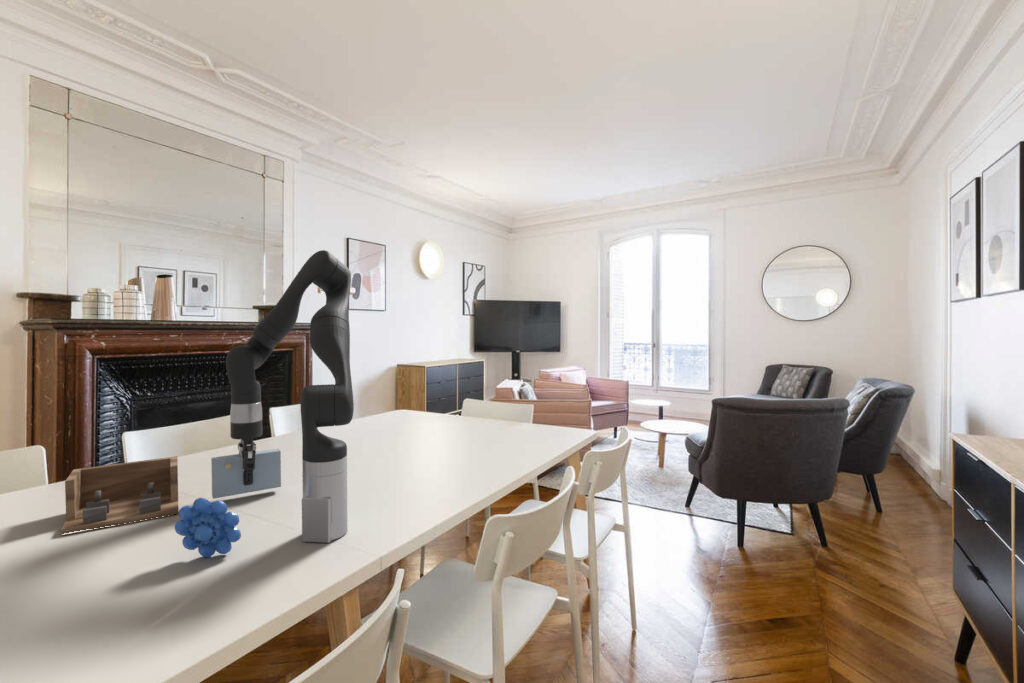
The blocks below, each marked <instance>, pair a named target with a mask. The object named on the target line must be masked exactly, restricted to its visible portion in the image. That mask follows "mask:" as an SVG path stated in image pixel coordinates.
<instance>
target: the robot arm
mask: <svg viewBox="0 0 1024 683" xmlns="http://www.w3.org/2000/svg"><path fill="white" fill-rule="evenodd" d="M312 284H313V285H315V286H316V287H318V288H319V289H321V290H322V291H323V292H324V295H325V298H326V299H325V300H326V301H325V305H323V306H322V307H321V308H319V309H317V311H316V312H315V313H314V314H313V316H312V318H311V320H310V323H309V324H310V325H309V344H310V347H311V350H312V351H313V353H314V354H315V355H316V356H317V357H318V359H319V360H320V361H321V362H322V363H323V364H324V366H326V367H327V369H328V370H329V371H330V373H331V374H332V376H333V378H334V380H335V383H334V384H313V385H312V384H311V385H310V384H309V385H305V386H304V387H303V388H302V390H301V394H300V400H299V403H300V404H299V405H300V417H301V418H300V420H301V431H302V432H301V433H302V437H301V438H302V440H301V441H302V442H301V443H302V445H301V446H302V450H301V452H302V453H301V454H302V456H301V457H302V461H301V462H302V463H301V464H302V498H301V541H302V542H303V543H305V542H306V543H325V544H326V543H327V544H328V543H329V544H330V543H331V542H332V541H334V540H337V539H339V538H341V537H343V536H345V535H346V534H347V533H348V446H347V443H346V442H344V441H343V440H341V439H338V438H334V437H330V436H328V435H325V434H323V433H322V432H320V430H319V429H318V428H324V427H327V428H328V427H334V426H335V427H339V426H346V425H349V424H350V423H351V421H352V420H353V417H354V404H355V402H354V394H353V393H354V392H353V391H354V390H353V384H352V374H351V364H350V363H351V362H350V361H351V360H350V359H351V357H350V356H351V352H350V350H351V349H350V348H351V341H350V340H351V335H350V334H351V330H350V316H349V314H350V312H349V311H350V309H349V308H350V307H349V306H350V305H349V304H350V294H351V293H350V292H351V286H352V285H351V284H352V275H351V270H350V269H349V267H348V266H347V265H345V264H344V263H343V262H342V261H341V260H340V259H338V258H337V257H336V256H335V255H334V254H332V253H331V252H329V251H328V250H325V249H322V250H319V251H316V252H315V253H313V254H311V256H310V257H309V258H308V259H307V260H306V262H305V263H304V264H303V265H302V267H301V268H300V269H299V271H298V272H297V273H296V275H295V277H294V278H293V279H292V281H291V282H290V284H289V285H288V287H287V288H286V290H285V292H284V293H283V294H282V296H281V297H280V299H279V300H278V302H277V303H276V305H274V307H273V308H272V309H271V310H270V311H269V312H268V313H267V314H266V316H265V317H264V318H263V319H262V320H260V322H259V323H258V324H257V325H256V326H255V327H254V329H253V331H252V336H251V337H250V339H249V340H248V341H247V342H246V343H245V344H243V345H235V346H234V347H232V348H231V349H229V350H228V352H227V355H226V358H225V366H226V367H225V368H226V373H227V377H228V380H229V385H230V387H231V389H230V401H231V402H230V403H231V404H230V416H229V418H230V419H229V420H230V422H229V423H230V427H229V428H230V435H229V436H230V438H231V439H233V440H240V442H238V443H237V450H238V454H240V461H241V463H243V469H242V471H243V484H244V485H245V486H246V485H252V484H253V470H254V469H255V454H256V452H257V444H256V443H255V441H254V439H255V438H259V437H261V436H262V435H263V407H262V386H261V384H260V381H259V380H257V379H256V371H255V370H257V369H259V368H260V367H261V366H263V364H265V363H266V361H267V359H269V357H270V355H271V354H272V353H273V351H274V350H275V347H276V346H277V345H278V344H279V343H281V342H282V340H283V339H284V338H285V337H286V336H287V335H288V334H289V333H290V332H291V331H292V330H293V328H294V326H295V325H296V323H297V320H298V315H299V311H300V307H301V301H302V298H303V296H304V294H305V292H306V290H307V289H308V288H309V287H310V285H312ZM243 458H244V459H243ZM250 463H251V465H250V466H246V465H247V464H250Z"/></svg>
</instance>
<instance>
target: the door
mask: <svg viewBox="0 0 1024 683" xmlns="http://www.w3.org/2000/svg"><path fill="white" fill-rule="evenodd" d="M281 454H282V452H281V449H280V448H274V449H265V450H260V451H256V454H255V469H254V470H253V484H252V485H246V486H245V485H244V484H243V471H242V469H243V463H241V461H240V454H239V453H237V454H228V455H223V456H214V457H210V458H211V498H212V499H220V498H225V497H230V496H236V495H242V494H243V495H244V494H246V493H253V492H260V491H264V490H270V489H276V488H281V487H282V467H281V466H282V465H281V464H282V460H281V457H282V456H281ZM243 459H244V458H243ZM250 465H251V463H250V464H247V465H246V466H250Z"/></svg>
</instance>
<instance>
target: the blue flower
mask: <svg viewBox="0 0 1024 683" xmlns="http://www.w3.org/2000/svg"><path fill="white" fill-rule="evenodd" d="M178 515H179V518H180V520H179V521H177V522H176V523H175V525H174V531H175V532H176V534H178V535H179V536H182V537H183V536H184V537H183V538H182V546H183V547H184V549H186V550H188V551H194V550H196V549H197V550H198V553H199V555H200V556H201V557H204V558H210V557H211V556H214V555H215V553H216V552H217V553H219V554H220V555H226V554H228V553H229V552H231V550H232V546H233V544H232V543H236V542H237V541H238V542H239V540H240V539H241V537H242V532H241V530H240V529H239V528H238V527H236V526H238V524H239V523H240V517H239V515H238V514H237V513H235V512H233V511H228V505H227V503H226V502H225V501H223V500H215V501H213V502H210V500H209V499H207V498H205V497H198V498H195V500H194V501H193V503H192V505H189V504H186V505H184V506H182V507H181V508H180V509H178Z"/></svg>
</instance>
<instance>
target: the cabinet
mask: <svg viewBox="0 0 1024 683" xmlns="http://www.w3.org/2000/svg"><path fill="white" fill-rule="evenodd" d="M178 463H179V462H178V456H169V457H162V458H154V459H145V460H137V461H130V462H129V461H127V462H121V463H113V464H107V465H106V464H104V465H96V466H91V467H90V466H88V467H81V468H75V469H74V468H73V470H72V471H71V473H69V475H68V477H66V479H65V481H64V486H65V489H64V491H65V492H64V494H65V497H64V498H65V522H64V523H63V525H62V527H61V529H60V535H61V534H64V533H69V532H74V531H80V530H86V529H94V528H100V527H105V526H111V525H118V524H124V523H129V522H134V521H140V520H145V519H151V518H156V517H162V516H167V517H169V516H168V515H173V514H178V515H179V472H178V469H179V468H178V466H179V465H178ZM173 516H174V515H173ZM162 518H163V517H162ZM151 520H152V519H151ZM140 522H141V521H140ZM124 525H125V524H124Z"/></svg>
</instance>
